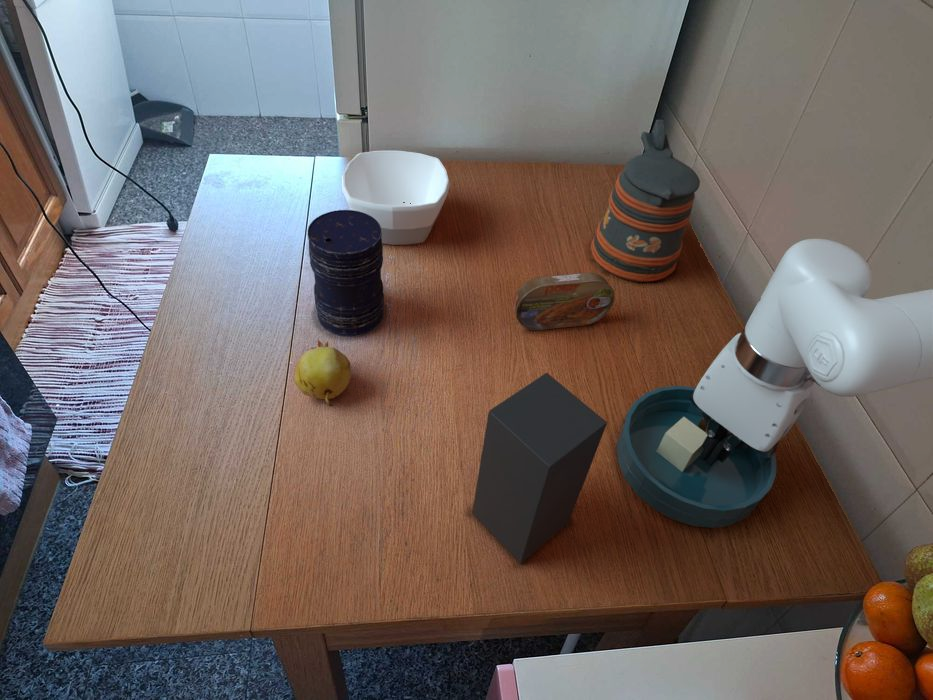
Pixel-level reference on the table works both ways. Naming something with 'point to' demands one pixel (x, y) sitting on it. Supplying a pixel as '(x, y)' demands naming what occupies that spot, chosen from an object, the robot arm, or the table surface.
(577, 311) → the tin
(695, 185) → the beer stein
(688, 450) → the cream block
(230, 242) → the table surface
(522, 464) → the stand
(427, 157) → the bowl
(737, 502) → the bowl
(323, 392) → the fruit
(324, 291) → the storage jar
